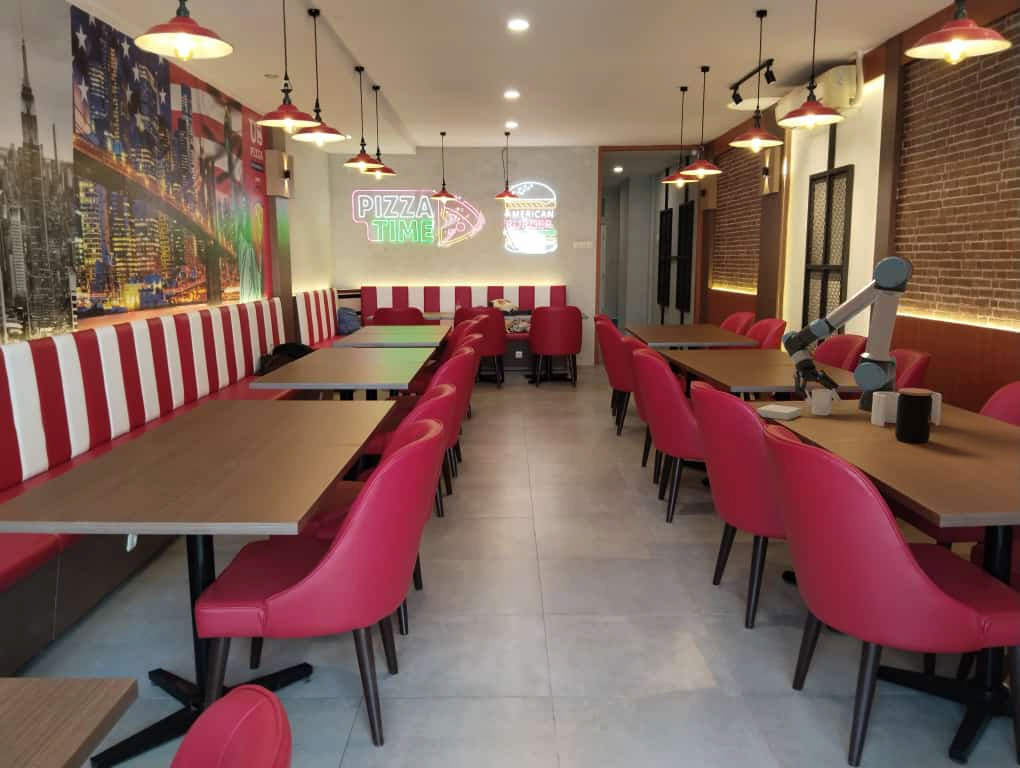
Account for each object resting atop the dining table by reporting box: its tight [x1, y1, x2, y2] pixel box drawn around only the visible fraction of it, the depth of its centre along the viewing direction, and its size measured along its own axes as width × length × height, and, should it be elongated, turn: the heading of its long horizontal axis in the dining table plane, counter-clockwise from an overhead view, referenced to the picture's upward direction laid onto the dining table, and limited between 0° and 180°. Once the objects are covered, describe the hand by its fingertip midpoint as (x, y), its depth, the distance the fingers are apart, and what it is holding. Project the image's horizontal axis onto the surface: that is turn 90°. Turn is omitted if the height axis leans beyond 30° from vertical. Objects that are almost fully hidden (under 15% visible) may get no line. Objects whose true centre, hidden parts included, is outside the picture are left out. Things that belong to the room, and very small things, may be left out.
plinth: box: [756, 404, 802, 421], centre depth 307 cm, size 13×13×3 cm
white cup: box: [811, 388, 833, 416], centre depth 309 cm, size 8×8×10 cm
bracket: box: [870, 391, 943, 428], centre depth 290 cm, size 25×10×12 cm, turn 91°
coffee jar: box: [894, 387, 934, 444], centre depth 262 cm, size 11×11×18 cm
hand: (825, 403), depth 307 cm, fingers open, 13 cm apart
